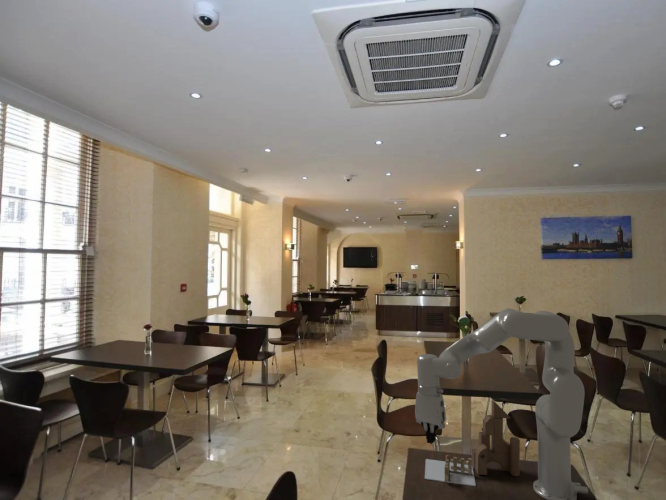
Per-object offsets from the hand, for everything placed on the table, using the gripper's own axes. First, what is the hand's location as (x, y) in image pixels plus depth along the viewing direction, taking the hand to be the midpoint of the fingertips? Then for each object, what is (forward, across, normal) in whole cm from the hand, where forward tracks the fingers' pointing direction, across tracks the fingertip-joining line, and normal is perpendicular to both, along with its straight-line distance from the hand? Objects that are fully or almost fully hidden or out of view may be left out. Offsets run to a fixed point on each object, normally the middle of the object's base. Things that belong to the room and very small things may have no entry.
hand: (431, 442), depth 138 cm
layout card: (+13, -3, -8) cm, 15 cm away
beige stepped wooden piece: (+12, -4, -4) cm, 13 cm away
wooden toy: (+13, -16, -19) cm, 28 cm away
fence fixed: (+13, -7, -10) cm, 18 cm away
